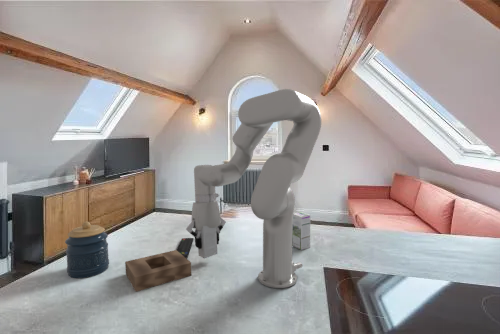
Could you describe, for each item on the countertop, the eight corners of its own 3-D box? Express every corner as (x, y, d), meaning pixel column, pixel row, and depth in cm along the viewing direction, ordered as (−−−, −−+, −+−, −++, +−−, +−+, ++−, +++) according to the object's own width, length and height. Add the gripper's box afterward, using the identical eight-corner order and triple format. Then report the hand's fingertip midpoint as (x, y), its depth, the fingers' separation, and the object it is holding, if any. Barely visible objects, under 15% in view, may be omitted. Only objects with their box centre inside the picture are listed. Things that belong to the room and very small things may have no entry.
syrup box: (310, 247, 120) (311, 214, 119) (300, 250, 117) (301, 216, 116) (301, 243, 125) (301, 211, 124) (291, 246, 122) (291, 213, 121)
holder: (176, 261, 107) (176, 249, 107) (191, 275, 96) (191, 262, 95) (125, 274, 97) (125, 261, 96) (135, 291, 85) (135, 277, 85)
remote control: (172, 262, 107) (172, 259, 107) (182, 240, 131) (182, 238, 131) (186, 262, 108) (186, 258, 108) (193, 240, 131) (193, 237, 131)
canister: (62, 271, 100) (59, 222, 98) (101, 259, 109) (99, 215, 108) (73, 283, 91) (70, 229, 89) (115, 269, 100) (112, 221, 99)
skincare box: (211, 251, 109) (209, 220, 109) (217, 254, 106) (216, 222, 106) (197, 255, 105) (196, 224, 104) (204, 258, 102) (203, 226, 101)
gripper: (221, 194, 112) (222, 238, 114) (179, 200, 102) (181, 248, 104) (230, 196, 106) (232, 243, 107) (187, 203, 96) (189, 254, 98)
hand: (207, 245), depth 106 cm, fingers closed on skincare box, 6 cm apart
